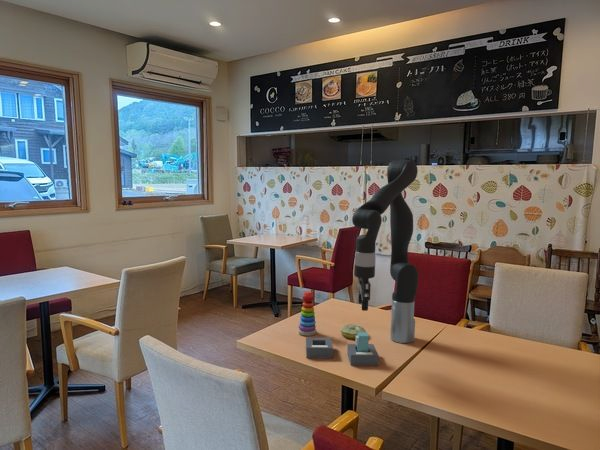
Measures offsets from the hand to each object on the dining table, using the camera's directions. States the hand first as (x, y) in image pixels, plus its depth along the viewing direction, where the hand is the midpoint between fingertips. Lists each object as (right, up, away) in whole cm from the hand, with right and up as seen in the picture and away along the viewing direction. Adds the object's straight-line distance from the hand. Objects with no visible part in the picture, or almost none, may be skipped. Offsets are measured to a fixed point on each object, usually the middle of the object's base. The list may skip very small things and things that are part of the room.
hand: (362, 306), depth 151 cm
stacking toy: (-20, -17, +28) cm, 38 cm away
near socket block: (0, -20, +2) cm, 20 cm away
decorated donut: (0, -18, +26) cm, 32 cm away
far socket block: (-16, -19, +8) cm, 26 cm away
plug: (0, -20, +2) cm, 21 cm away
